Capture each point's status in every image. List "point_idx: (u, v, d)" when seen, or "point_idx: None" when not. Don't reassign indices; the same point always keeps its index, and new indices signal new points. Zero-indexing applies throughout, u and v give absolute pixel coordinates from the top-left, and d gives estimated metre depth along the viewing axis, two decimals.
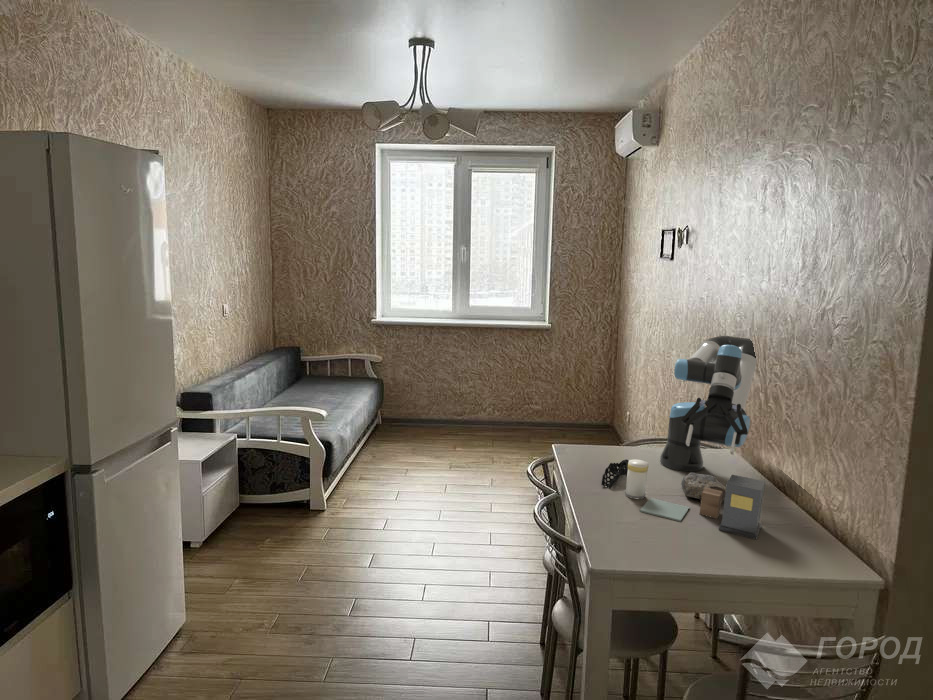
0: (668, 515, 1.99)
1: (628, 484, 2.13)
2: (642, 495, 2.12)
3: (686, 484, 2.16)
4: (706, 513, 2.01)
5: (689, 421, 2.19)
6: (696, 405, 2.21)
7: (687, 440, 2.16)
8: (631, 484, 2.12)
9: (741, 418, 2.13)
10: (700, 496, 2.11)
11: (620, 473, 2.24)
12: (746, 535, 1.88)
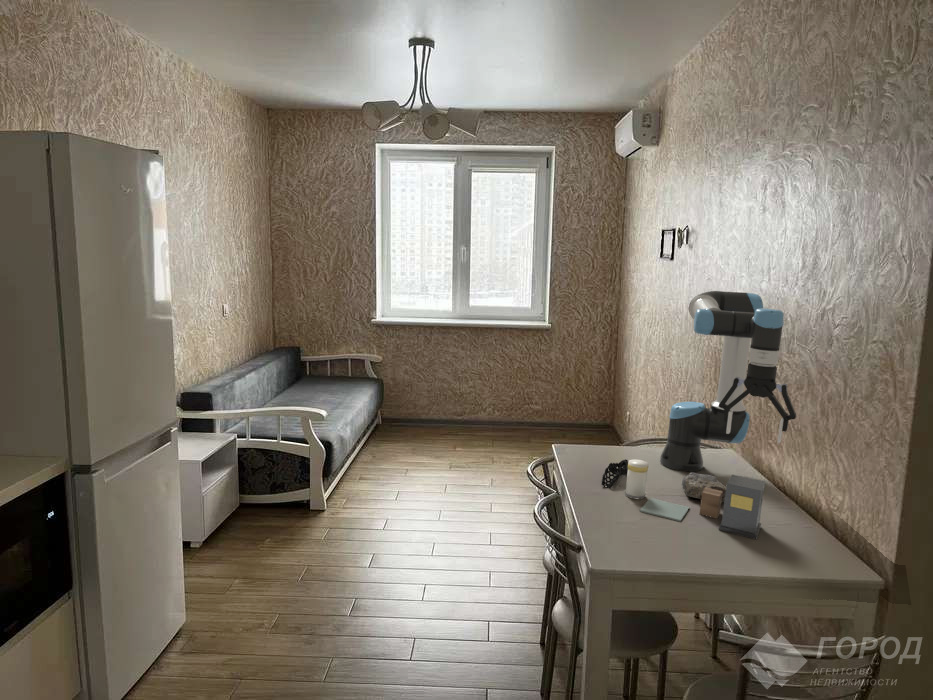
0: (668, 515, 1.99)
1: (628, 484, 2.13)
2: (642, 495, 2.12)
3: (687, 484, 2.16)
4: (706, 513, 2.01)
5: (727, 407, 1.93)
6: (734, 387, 1.92)
7: (727, 430, 1.94)
8: (631, 484, 2.12)
9: (787, 403, 1.85)
10: (701, 496, 2.11)
11: (620, 473, 2.24)
12: (746, 535, 1.88)
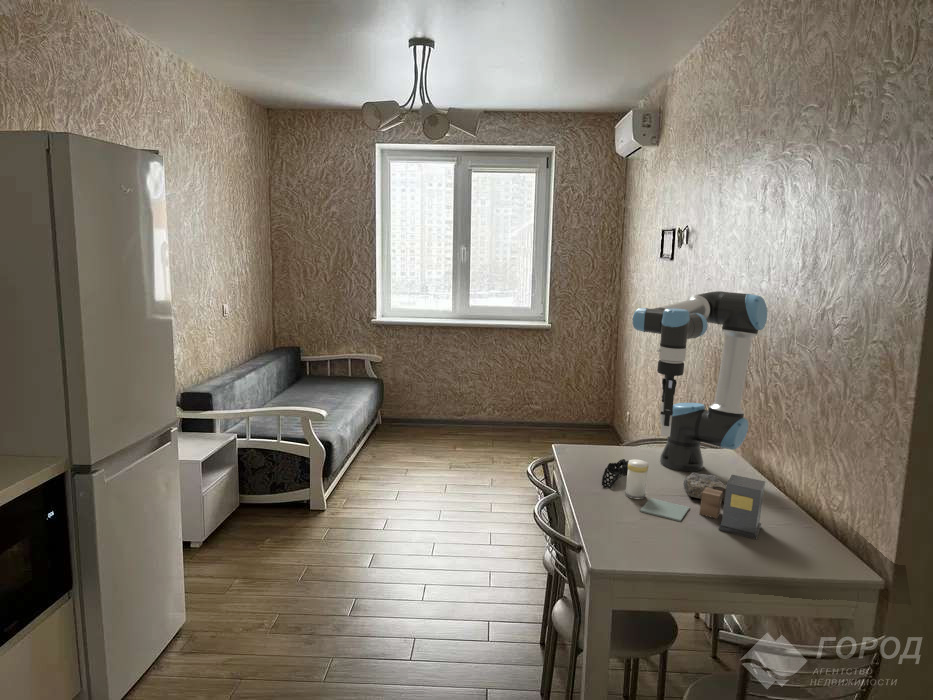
0: (668, 515, 1.99)
1: (628, 484, 2.13)
2: (642, 495, 2.12)
3: (688, 484, 2.16)
4: (706, 513, 2.01)
5: (662, 399, 2.10)
6: None
7: None
8: (631, 484, 2.12)
9: (664, 397, 1.94)
10: None
11: (619, 473, 2.24)
12: (746, 535, 1.88)
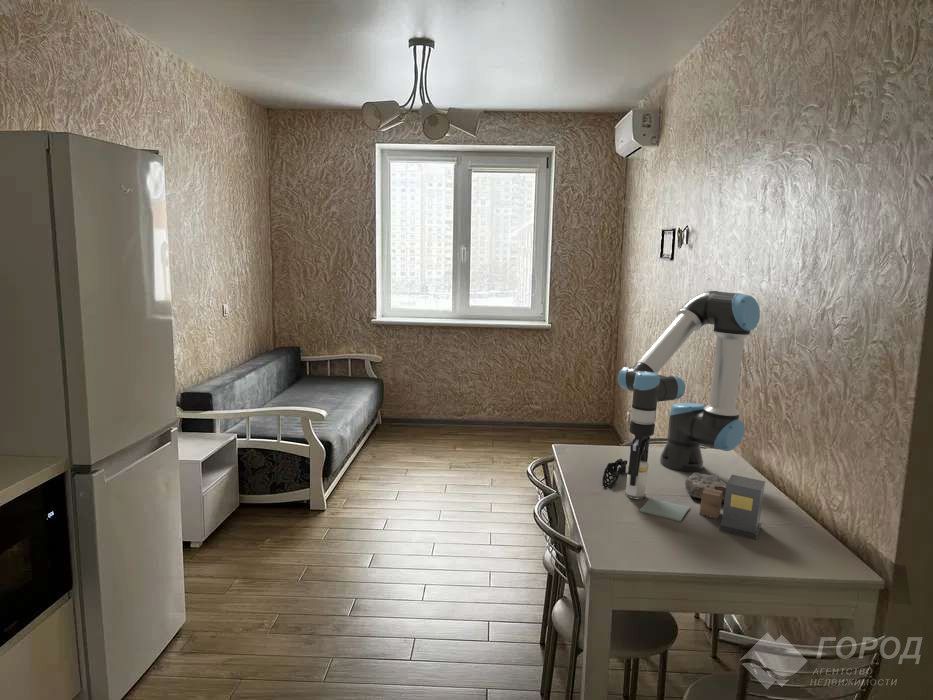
0: (668, 515, 1.99)
1: (628, 484, 2.13)
2: (642, 495, 2.12)
3: (690, 484, 2.16)
4: (706, 513, 2.01)
5: None
6: None
7: None
8: None
9: None
10: None
11: (619, 473, 2.24)
12: (746, 535, 1.88)
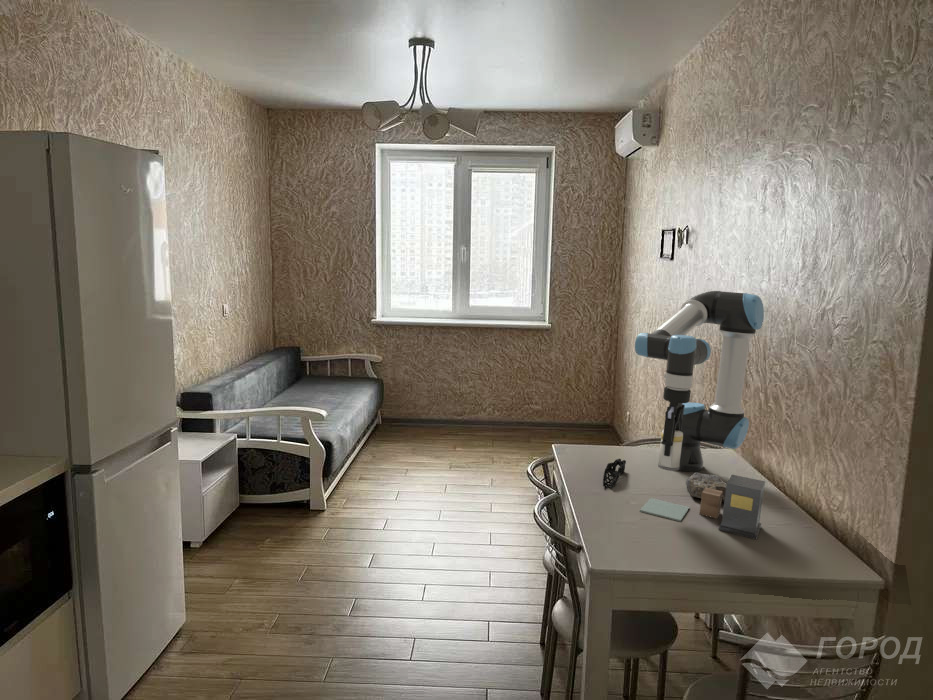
0: (668, 515, 1.99)
1: (662, 455, 2.00)
2: (677, 466, 1.99)
3: (691, 484, 2.16)
4: (706, 513, 2.01)
5: None
6: None
7: None
8: None
9: None
10: None
11: (619, 473, 2.24)
12: (746, 535, 1.88)
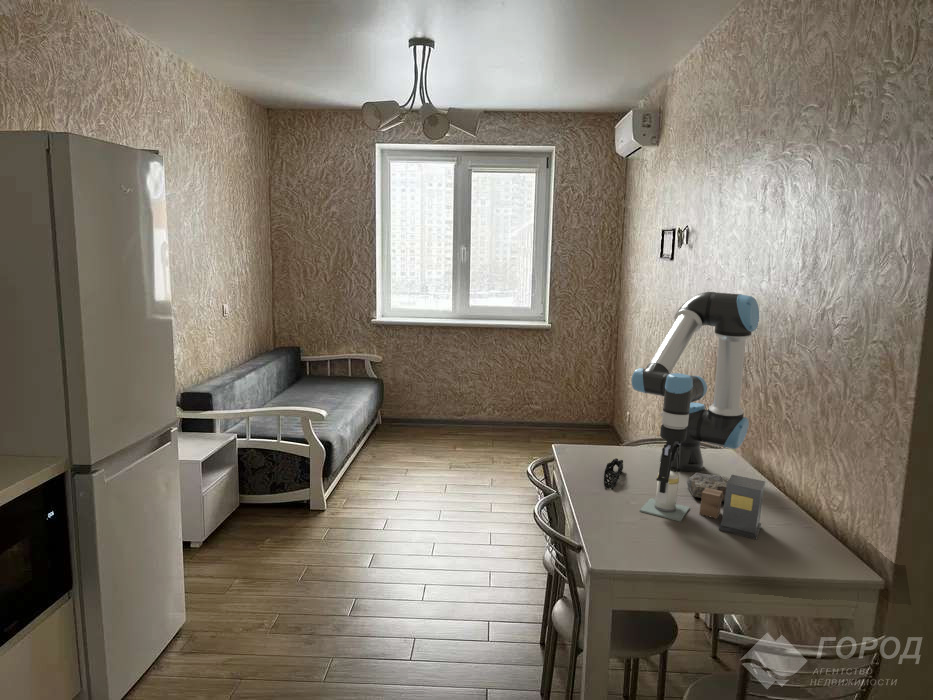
0: (668, 515, 1.99)
1: None
2: (673, 508, 2.01)
3: (693, 484, 2.16)
4: (706, 513, 2.01)
5: None
6: None
7: None
8: None
9: None
10: None
11: (619, 473, 2.24)
12: (746, 535, 1.88)
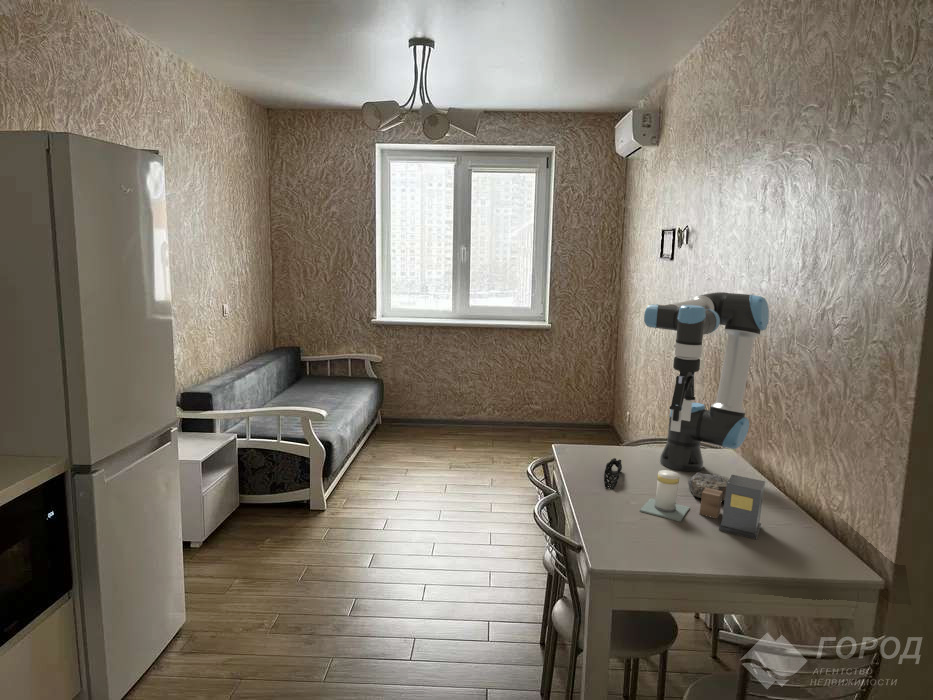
0: (668, 515, 1.99)
1: (658, 496, 2.02)
2: (673, 508, 2.01)
3: (694, 484, 2.16)
4: (706, 513, 2.01)
5: None
6: None
7: (681, 416, 2.11)
8: (661, 496, 2.01)
9: None
10: None
11: None
12: (746, 535, 1.88)
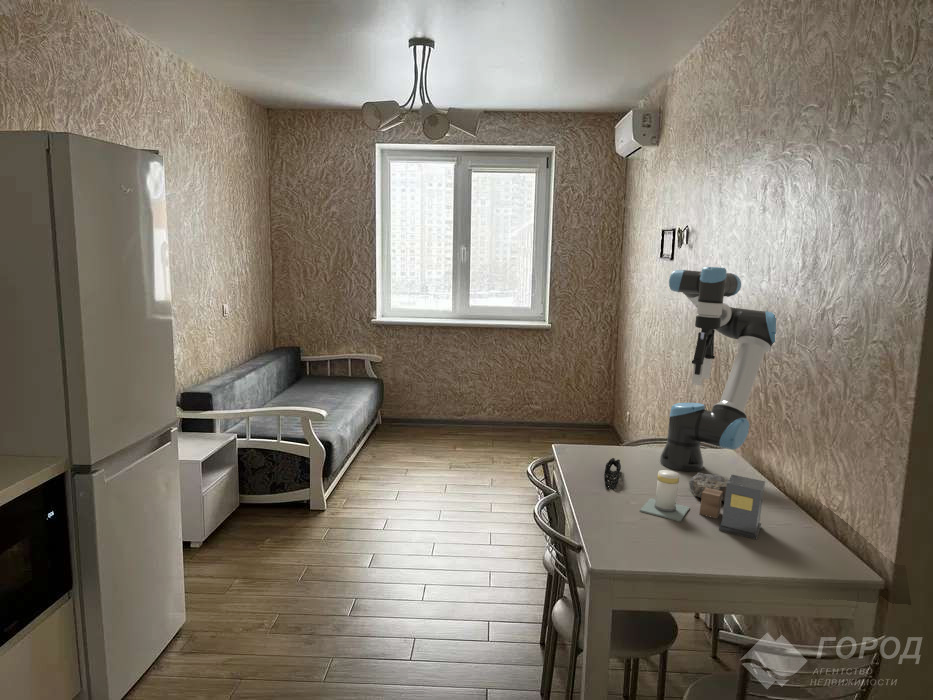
0: (668, 515, 1.99)
1: (658, 496, 2.02)
2: (673, 508, 2.01)
3: (695, 484, 2.16)
4: (706, 513, 2.01)
5: (704, 354, 2.22)
6: None
7: None
8: (661, 495, 2.01)
9: None
10: None
11: None
12: (746, 535, 1.88)
